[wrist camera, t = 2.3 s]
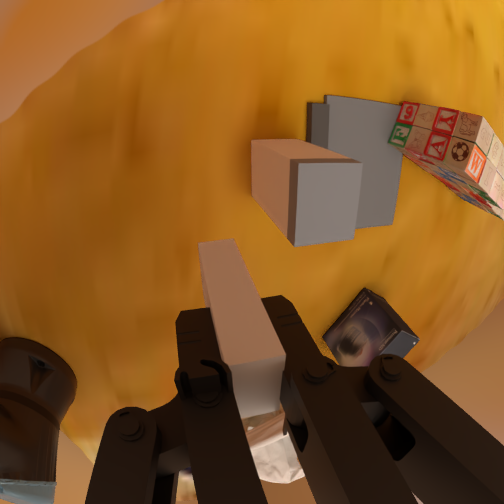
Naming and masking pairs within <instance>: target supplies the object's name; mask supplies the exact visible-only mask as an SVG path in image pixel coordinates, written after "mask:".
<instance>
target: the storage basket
mask: <svg viewBox="0 0 504 504" xmlns="http://www.w3.org/2000/svg"><path fill="white" fill-rule="evenodd" d="M284 418H285V412H284V410H283V407H282V405H281V402H280V409H279V410H278V411H273V412H269V413H265V414H260V415H256V416H251V417H246V418H241V420H242V423H243V427H244V430H245V433H246V437H247V440H248V443H249V447H250V450H251V453H252V456H253V460H254V463H255V466H256V469H257V472H258V475H259V478H260V479H262V480H265V481H269V482H274V483H290V482H292V481H294V480H297V479H299V478H302V477H304V476H305V474H304V472H303V469H302V467H301V465H299V463H298V461H297V454H296V452H295V449H294V447H293V444H292V442H291V439H290V437H289V434H288V431H287V435H284V436H283V430H282V429H283V424H284Z"/></svg>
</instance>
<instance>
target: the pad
mask: <svg viewBox="0 0 504 504" xmlns="http://www.w3.org/2000/svg"><path fill="white" fill-rule="evenodd" d="M401 107H402V106H399V105H393V104H388V103H382V102H376V101H370V100H363V99H356V98H348V97H340V96H331V95H324V104H319V103H307V136H306V142H308V143H311V144H314V145H317V146H319V147H322V148H325V149H328V150H330V151H333V152H336V153H338V154H341V155H344V156H346V157H349V158H351V159H354V160H356V161H359V162H361V163H363V167H362V177H361V186H360V195H359V203H358V211H357V219H356V226H355V229H358V228H367V227H376V226H385V225H392V224H393V218H394V213H395V207H396V201H397V194H398V188H399V181H400V173H401V165H402V157H403V153H401V152H400V151H398V150H397V149H395V148H394V147H393V146H391V145H389V144H388V142H389V139H390V136H391V134H392V131H393V129H394V126H395V124H396V120H397V118H398V115H399V112H400V109H401Z"/></svg>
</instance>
